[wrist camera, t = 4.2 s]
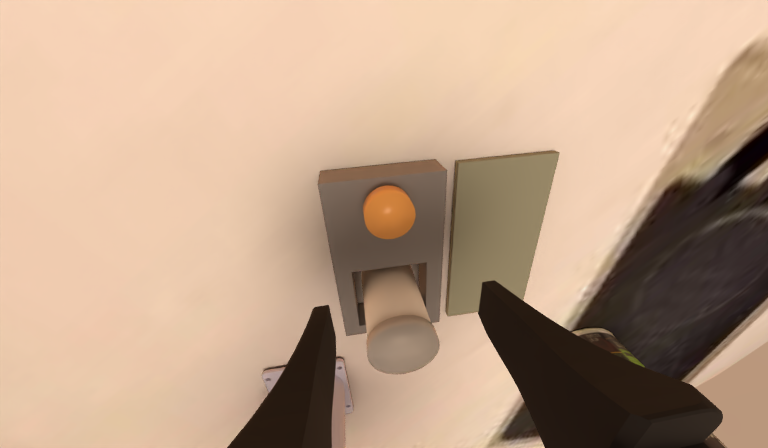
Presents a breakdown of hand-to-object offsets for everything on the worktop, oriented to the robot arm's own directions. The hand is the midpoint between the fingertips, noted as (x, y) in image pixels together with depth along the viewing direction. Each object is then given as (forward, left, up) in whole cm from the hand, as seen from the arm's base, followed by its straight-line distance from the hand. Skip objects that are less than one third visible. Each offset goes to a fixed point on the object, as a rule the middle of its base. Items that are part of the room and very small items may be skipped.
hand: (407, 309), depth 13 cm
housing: (-3, 0, -10) cm, 10 cm away
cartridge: (-6, 0, -10) cm, 11 cm away
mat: (-4, -9, -10) cm, 14 cm away
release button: (+2, 0, -9) cm, 9 cm away
